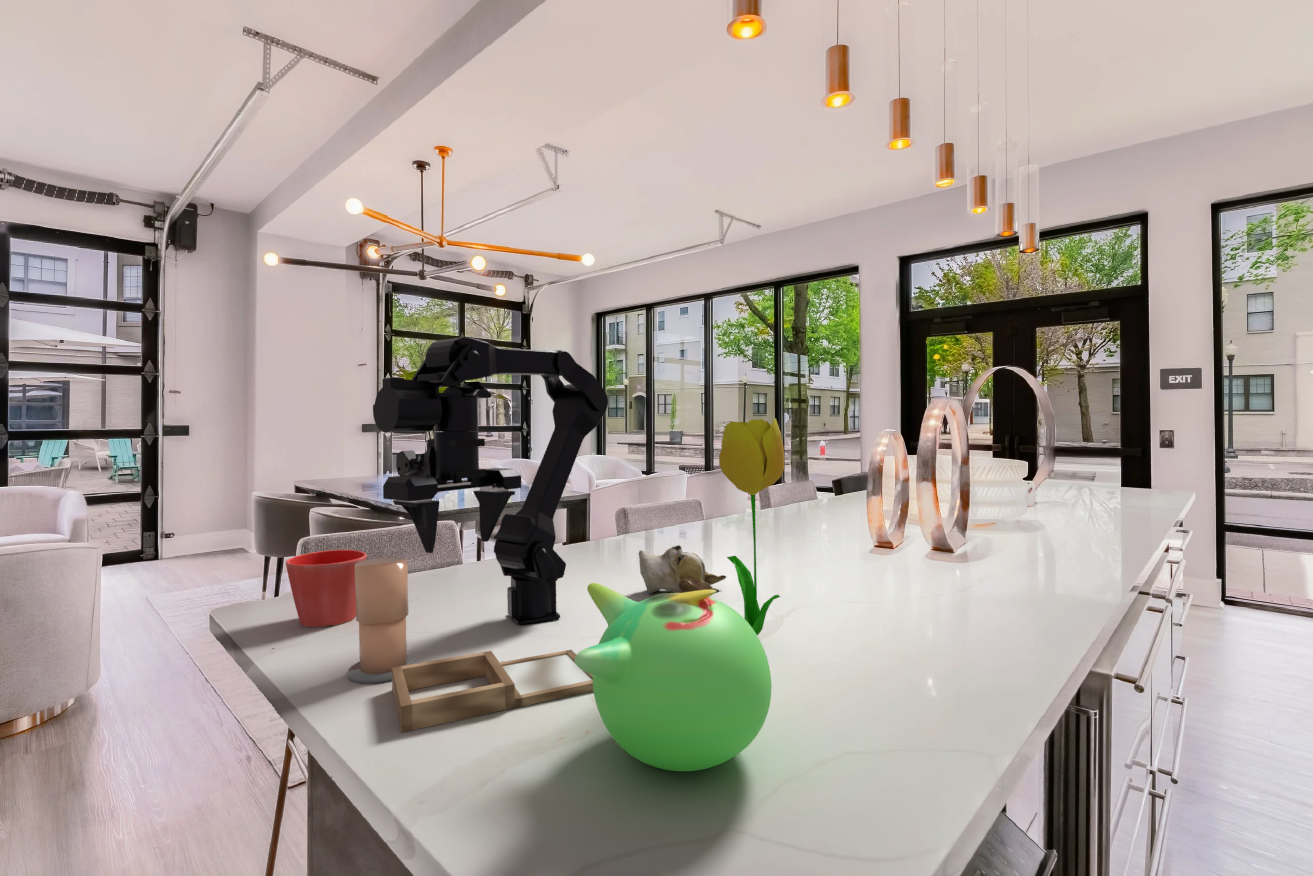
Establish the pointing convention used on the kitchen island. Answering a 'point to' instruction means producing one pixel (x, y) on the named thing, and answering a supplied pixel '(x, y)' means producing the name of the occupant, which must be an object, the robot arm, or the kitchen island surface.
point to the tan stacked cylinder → (382, 613)
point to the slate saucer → (364, 678)
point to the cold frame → (506, 689)
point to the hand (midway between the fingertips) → (458, 546)
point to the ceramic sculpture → (676, 572)
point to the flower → (752, 490)
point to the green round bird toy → (677, 678)
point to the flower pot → (324, 586)
